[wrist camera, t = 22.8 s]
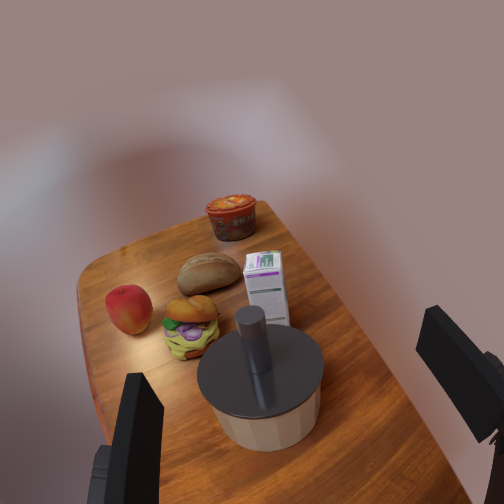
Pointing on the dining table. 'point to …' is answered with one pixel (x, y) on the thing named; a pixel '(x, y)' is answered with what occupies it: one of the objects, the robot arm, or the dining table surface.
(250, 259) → the syrup box
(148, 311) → the apple
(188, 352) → the cheeseburger
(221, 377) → the lid
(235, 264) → the bread roll
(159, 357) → the dining table surface
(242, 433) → the pot
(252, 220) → the food container
